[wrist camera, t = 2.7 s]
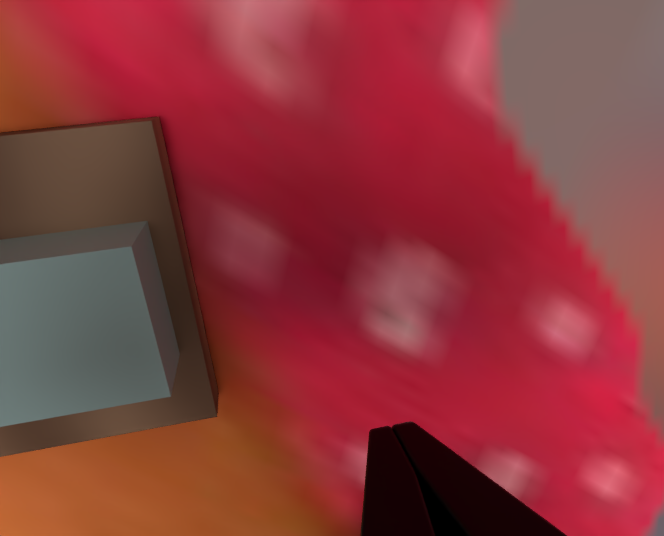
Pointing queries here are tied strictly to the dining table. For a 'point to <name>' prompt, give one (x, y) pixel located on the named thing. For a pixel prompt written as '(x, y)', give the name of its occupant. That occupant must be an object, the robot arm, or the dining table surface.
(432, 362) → the dining table surface
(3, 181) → the board
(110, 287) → the sage green block
